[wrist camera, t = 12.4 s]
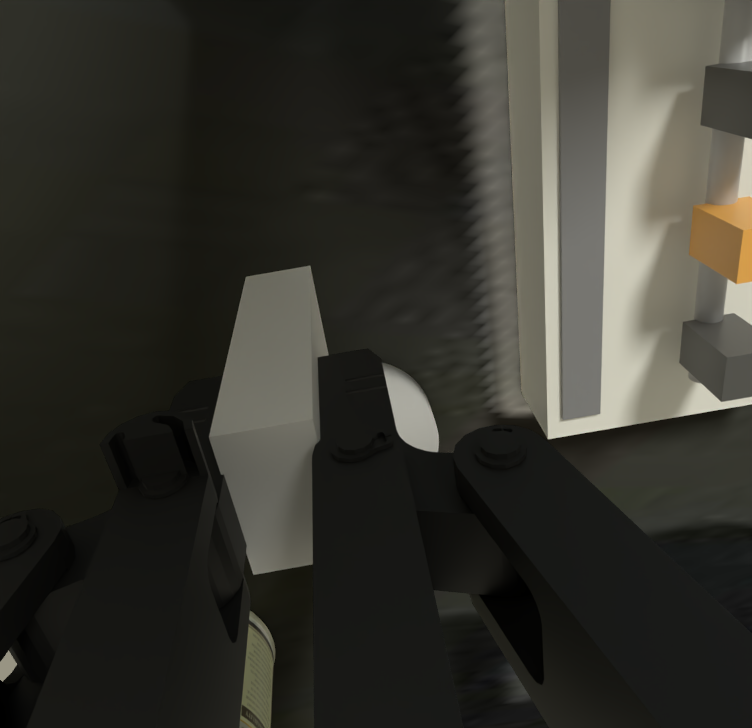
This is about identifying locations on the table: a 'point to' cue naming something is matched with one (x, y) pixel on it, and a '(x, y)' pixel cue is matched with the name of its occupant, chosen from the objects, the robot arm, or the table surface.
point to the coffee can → (257, 676)
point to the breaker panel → (610, 205)
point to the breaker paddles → (723, 219)
